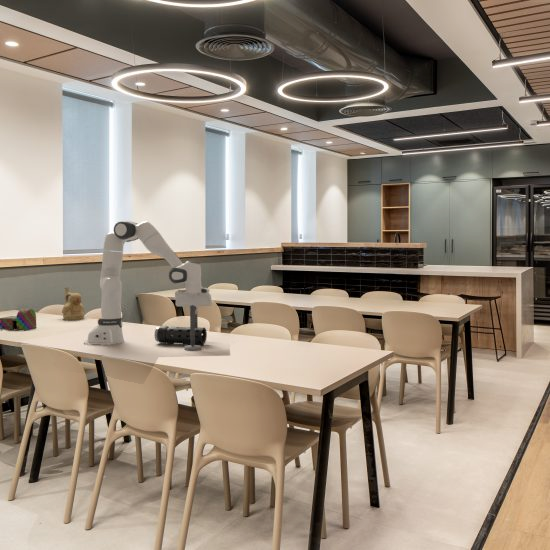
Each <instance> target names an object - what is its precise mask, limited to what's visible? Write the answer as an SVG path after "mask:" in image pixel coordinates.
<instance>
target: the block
mask: <svg viewBox="0 0 550 550" xmlns="http://www.w3.org/2000/svg"><path fill="white" fill-rule="evenodd" d="M15 325H16V331H19V330H24V331H25V332H26V331H31V330H34V329H37V314H36V311H35V310H34V309H32V308H20V309H19V310H18V312H17V314H16V315H10V316H4V317H0V330H1V329H2V330H8V331H14V329H15ZM24 331H23V332H24Z"/></svg>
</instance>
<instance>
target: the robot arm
mask: <svg viewBox="0 0 550 550" xmlns="http://www.w3.org/2000/svg"><path fill="white" fill-rule="evenodd" d="M136 240H139V241H140V242H141V244H143V246H144V247H145V248H146V249H147V250H148V251H149V252H150V253H151V254H153V255H156V256H158V257H161V258H162V259H164V260H165V261H167V263H168V264H169V266H171V267H172V268H171V269H170V270H169V272H168V279H169V281H170V282H171V283H172V284H176V285H180V284H185V289H177V290H176V291H175V292H174V297H175V306H176V307H188V308H189V310H190V306H191V305H194V306H196V308H197V309H196V311H195V314H197V315H198V310H199V307H211V306H212V305H213V303H212V302H213V301H212V295H211V293H210V288H207V287H205V286H204V287H203V285H202V281H201V279H202V268H201V267H202V266H201V264H200V262H198V261H194V260H187V261H185V262H183V261H182V260H181V259H180V258H179V256H178V255H177V254H176V253H175V251H173V249H172V248H171V247H170V245H169V244H168V243H167V241H166V240H165V239H164V237H163V236H162V234H161V233H160V232H159V231H158V230H157V228H156V227H155V226H154V225H153V224H151V223H150V222H149V221H145V220H144V221H142V222H140V223H136V222H135V221H130V220H120V221H117V222H116V223H115V224H114V226H113V231H110V232H107V234H106V235H105V237H104V242H103V248H102V250H103V251H102V261H101V263H102V264H101V270H100V278H99V279H100V281H99V287H100V290H101V299H100V300H101V302H100V304H101V305H100V309H101V310H100V313H101V317H99V318H98V320H97V326H95V327H94V328H93V329H91V330H90V331H89V332H88V335H87V340H85V341H83V344H84V343H85V344H84V345H86V344H101V345H102V346H110V344H112V345H116V343H118V344H122V342H123V343H125V342H124V341H125V338H124V334H123V317H122V294H123V293H122V291H123V284H122V283H123V282H122V280H121V274H122V267H123V259H124V258H123V256H124V245H125V243H130V242H135V241H136ZM101 345H100V346H101Z"/></svg>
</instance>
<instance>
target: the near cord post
mask: <svg viewBox="0 0 550 550" xmlns="http://www.w3.org/2000/svg"><path fill="white" fill-rule="evenodd" d="M189 322H190V324H189V327H190V344H191V345H188V344H186V345H183V346H184V347H183V348H184V349H183V350H185V351H189V352H190V351H191V352H193V351H200V350H202V345H195V307H194V305H191V306H190V309H189Z"/></svg>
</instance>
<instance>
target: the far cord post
mask: <svg viewBox="0 0 550 550" xmlns="http://www.w3.org/2000/svg"><path fill="white" fill-rule="evenodd" d="M194 307H195V311H196V309H197V308H196V306H194ZM198 322H199V321H198V313H197V314H195V328H199V326H198Z"/></svg>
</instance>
